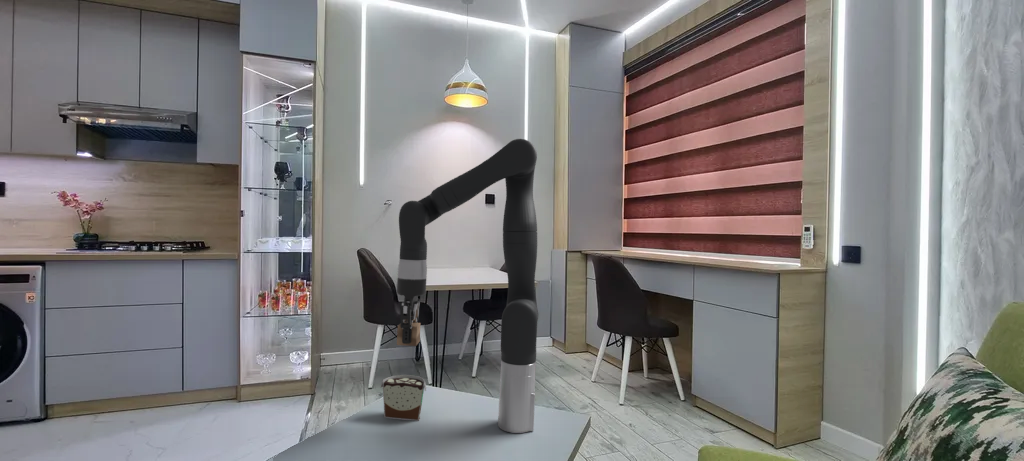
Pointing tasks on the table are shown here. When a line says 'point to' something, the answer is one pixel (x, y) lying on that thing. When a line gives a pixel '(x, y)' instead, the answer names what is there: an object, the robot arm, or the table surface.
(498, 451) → the table surface
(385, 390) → the food container
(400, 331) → the walnut cube
